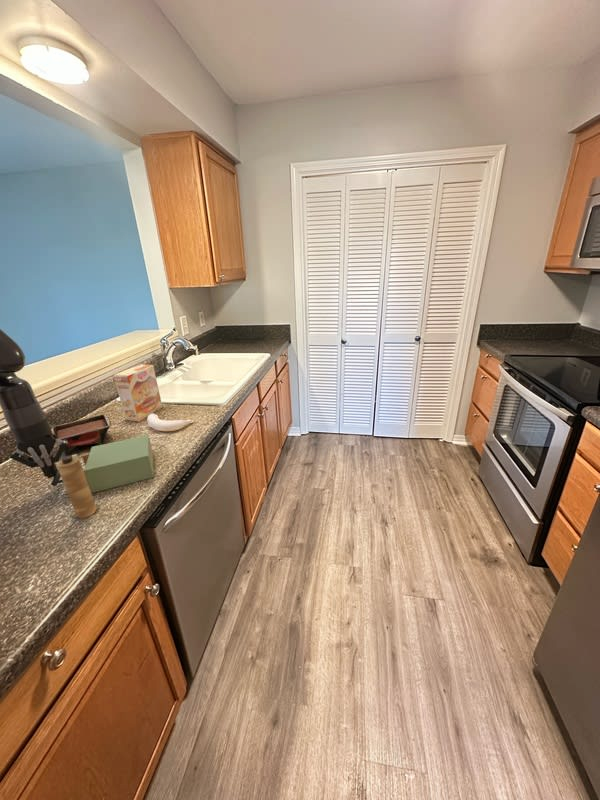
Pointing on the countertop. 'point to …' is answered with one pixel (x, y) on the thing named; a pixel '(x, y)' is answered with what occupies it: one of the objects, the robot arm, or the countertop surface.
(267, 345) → the countertop surface
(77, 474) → the pepper mill
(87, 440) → the baking dish
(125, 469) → the cabinet
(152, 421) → the banana
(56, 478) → the drawer
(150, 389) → the coffeecake box
